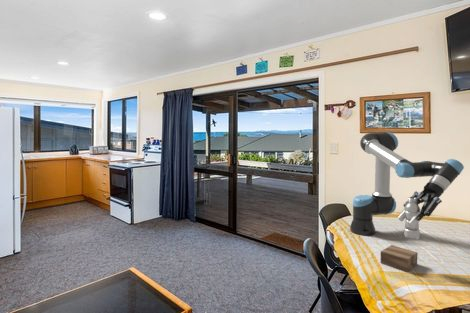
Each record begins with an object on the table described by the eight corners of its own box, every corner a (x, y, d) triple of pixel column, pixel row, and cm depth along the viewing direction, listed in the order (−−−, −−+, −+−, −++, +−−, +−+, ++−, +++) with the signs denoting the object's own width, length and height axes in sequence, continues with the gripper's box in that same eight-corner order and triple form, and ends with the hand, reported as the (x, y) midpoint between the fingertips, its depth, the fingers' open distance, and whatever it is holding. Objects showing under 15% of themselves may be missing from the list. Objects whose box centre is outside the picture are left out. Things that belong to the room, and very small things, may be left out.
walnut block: (391, 256, 143) (391, 245, 143) (417, 264, 134) (417, 252, 133) (380, 263, 136) (380, 251, 136) (407, 272, 127) (407, 259, 126)
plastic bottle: (413, 235, 135) (413, 195, 134) (423, 240, 129) (424, 199, 127) (400, 236, 135) (401, 196, 133) (410, 241, 128) (411, 199, 127)
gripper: (460, 196, 123) (427, 234, 122) (424, 187, 142) (395, 220, 141) (450, 185, 121) (417, 223, 120) (415, 178, 140) (386, 211, 139)
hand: (405, 222), depth 131 cm, fingers closed on plastic bottle, 6 cm apart
